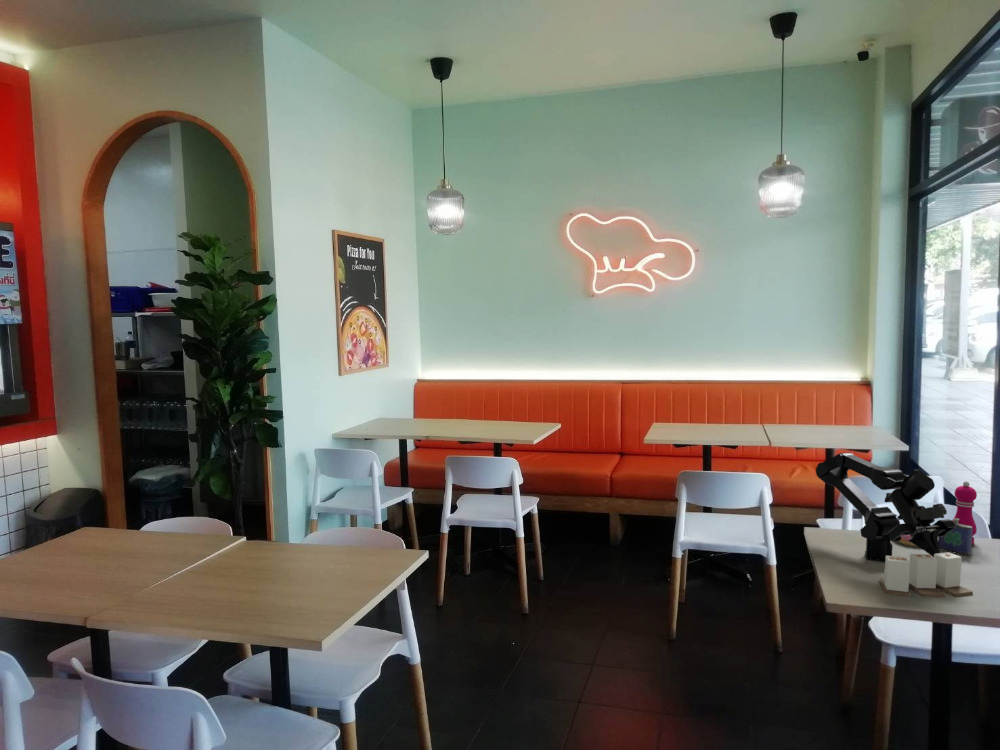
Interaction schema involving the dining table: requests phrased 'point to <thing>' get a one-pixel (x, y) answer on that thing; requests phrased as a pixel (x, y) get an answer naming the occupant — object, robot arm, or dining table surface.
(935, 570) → the two-bump white pillar
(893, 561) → the three-dot tile
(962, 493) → the pepper mill
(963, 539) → the flask
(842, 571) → the dining table surface
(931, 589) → the tile tracks
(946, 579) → the white pillar with knob
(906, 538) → the doughnut
